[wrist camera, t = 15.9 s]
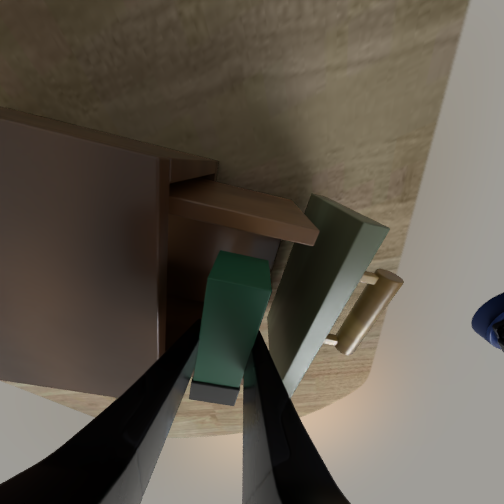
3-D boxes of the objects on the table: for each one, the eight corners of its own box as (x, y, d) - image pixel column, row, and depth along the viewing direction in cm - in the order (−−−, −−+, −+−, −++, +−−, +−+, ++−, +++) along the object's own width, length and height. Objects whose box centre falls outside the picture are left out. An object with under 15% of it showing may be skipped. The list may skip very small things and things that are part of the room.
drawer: (381, 210, 15) (495, 253, 8) (318, 327, 21) (350, 412, 14) (138, 150, 13) (3, 135, 6) (144, 293, 19) (77, 369, 12)
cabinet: (219, 161, 14) (158, 156, 6) (200, 302, 21) (158, 404, 12) (5, 107, 13) (-492, -3, 4) (54, 274, 20) (-110, 364, 11)
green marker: (218, 249, 9) (205, 279, 6) (269, 260, 9) (273, 293, 7) (201, 355, 12) (188, 399, 10) (238, 362, 12) (234, 406, 10)
